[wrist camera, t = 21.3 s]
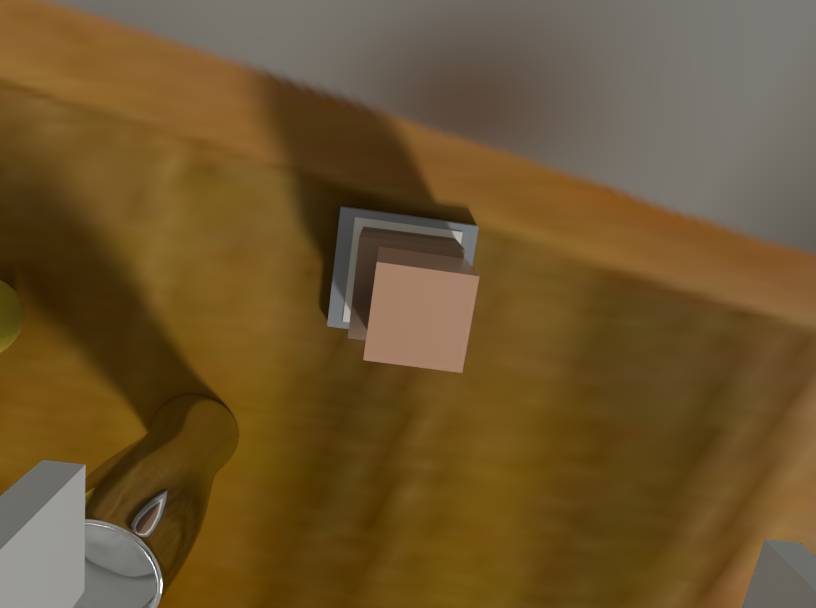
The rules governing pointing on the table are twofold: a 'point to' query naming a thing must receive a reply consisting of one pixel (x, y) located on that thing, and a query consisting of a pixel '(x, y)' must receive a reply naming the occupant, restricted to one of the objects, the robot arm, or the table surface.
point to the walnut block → (368, 260)
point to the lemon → (9, 315)
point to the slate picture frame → (357, 218)
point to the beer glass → (153, 503)
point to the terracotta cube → (421, 310)
